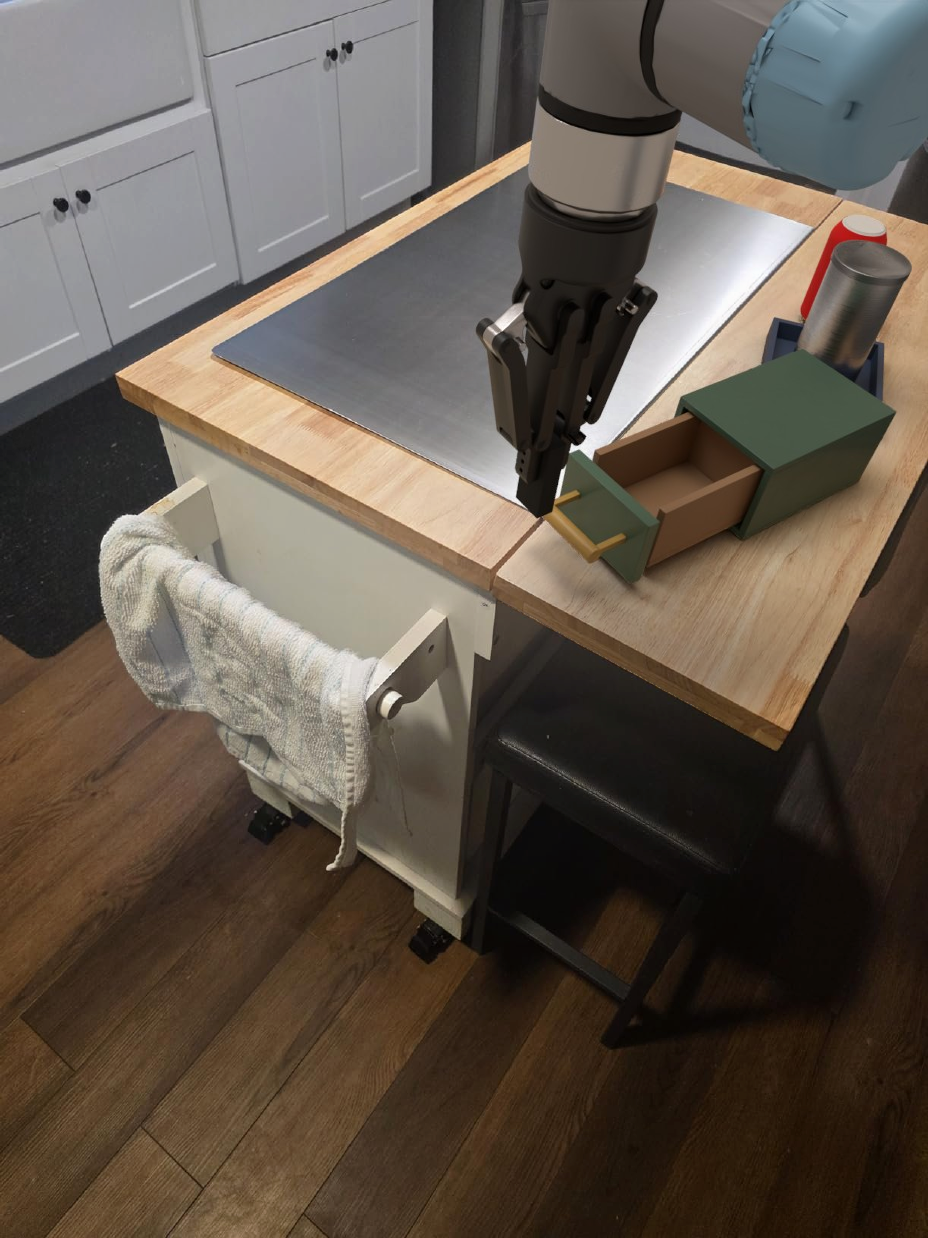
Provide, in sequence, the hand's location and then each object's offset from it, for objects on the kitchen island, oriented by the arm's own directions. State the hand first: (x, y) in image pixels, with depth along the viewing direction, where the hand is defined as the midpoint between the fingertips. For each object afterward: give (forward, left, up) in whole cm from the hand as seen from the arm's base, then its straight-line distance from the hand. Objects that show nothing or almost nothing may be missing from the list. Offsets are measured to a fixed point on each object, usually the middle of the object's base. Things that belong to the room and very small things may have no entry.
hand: (533, 504), depth 66 cm
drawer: (0, -13, -8) cm, 16 cm away
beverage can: (+16, -57, -9) cm, 60 cm away
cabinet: (0, -29, -9) cm, 30 cm away
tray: (+7, -46, -9) cm, 47 cm away
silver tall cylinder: (+7, -46, -9) cm, 47 cm away
